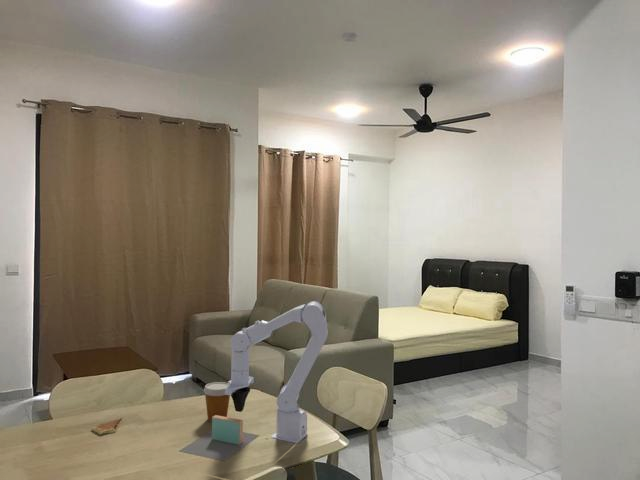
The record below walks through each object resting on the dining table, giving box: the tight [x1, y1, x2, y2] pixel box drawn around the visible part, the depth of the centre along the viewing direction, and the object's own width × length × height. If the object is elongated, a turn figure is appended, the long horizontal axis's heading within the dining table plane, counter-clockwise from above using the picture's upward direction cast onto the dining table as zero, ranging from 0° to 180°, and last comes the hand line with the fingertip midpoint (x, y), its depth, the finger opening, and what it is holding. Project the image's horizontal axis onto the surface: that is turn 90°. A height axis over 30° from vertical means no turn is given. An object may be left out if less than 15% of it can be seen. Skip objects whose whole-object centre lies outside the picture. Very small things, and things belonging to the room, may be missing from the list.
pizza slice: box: [91, 417, 123, 435], centre depth 164 cm, size 11×8×2 cm
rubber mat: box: [178, 430, 260, 462], centre depth 153 cm, size 16×20×1 cm
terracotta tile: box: [211, 415, 244, 445], centre depth 155 cm, size 10×2×7 cm, turn 68°
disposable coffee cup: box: [203, 381, 231, 423], centre depth 173 cm, size 10×10×12 cm
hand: (239, 410), depth 161 cm, fingers closed
